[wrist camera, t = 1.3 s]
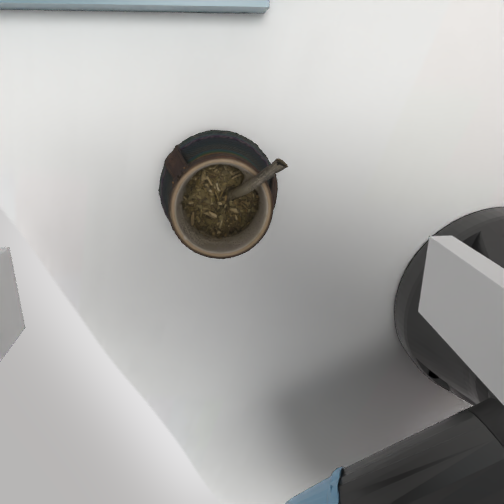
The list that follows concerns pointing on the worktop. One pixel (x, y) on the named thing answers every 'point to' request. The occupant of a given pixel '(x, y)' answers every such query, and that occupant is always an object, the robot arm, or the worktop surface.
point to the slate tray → (141, 5)
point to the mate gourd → (219, 193)
